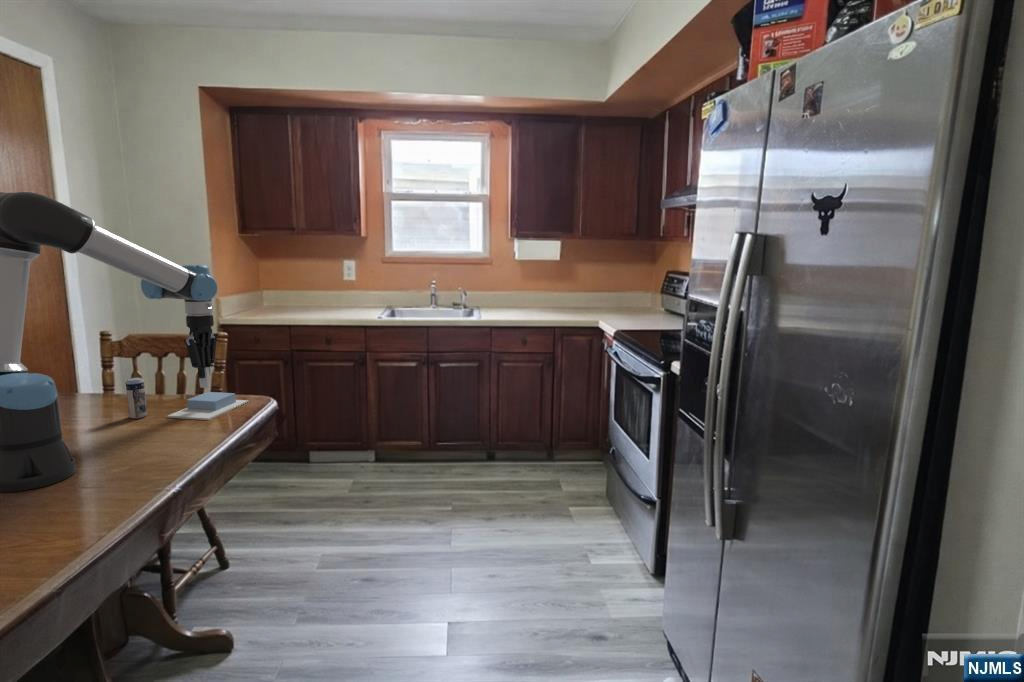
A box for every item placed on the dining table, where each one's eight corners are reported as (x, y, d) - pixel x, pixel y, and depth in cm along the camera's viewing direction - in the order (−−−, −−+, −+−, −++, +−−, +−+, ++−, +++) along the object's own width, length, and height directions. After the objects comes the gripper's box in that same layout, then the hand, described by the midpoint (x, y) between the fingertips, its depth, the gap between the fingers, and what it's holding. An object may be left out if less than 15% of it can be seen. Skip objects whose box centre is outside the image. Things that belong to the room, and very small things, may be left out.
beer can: (140, 419, 167) (136, 381, 165) (125, 419, 167) (121, 380, 165) (151, 414, 172) (147, 377, 170) (136, 414, 172) (132, 377, 170)
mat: (208, 420, 168) (208, 418, 167) (167, 417, 169) (167, 415, 169) (248, 402, 187) (248, 400, 187) (211, 400, 189) (210, 398, 189)
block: (215, 401, 175) (235, 393, 184) (186, 399, 176) (208, 391, 186) (216, 410, 175) (235, 402, 185) (187, 408, 177) (208, 400, 186)
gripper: (195, 317, 166) (202, 393, 170) (223, 312, 179) (229, 382, 183) (173, 316, 167) (180, 391, 171) (202, 311, 180) (208, 381, 184)
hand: (205, 387), depth 177 cm, fingers closed
